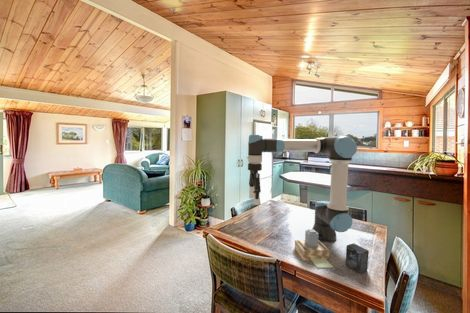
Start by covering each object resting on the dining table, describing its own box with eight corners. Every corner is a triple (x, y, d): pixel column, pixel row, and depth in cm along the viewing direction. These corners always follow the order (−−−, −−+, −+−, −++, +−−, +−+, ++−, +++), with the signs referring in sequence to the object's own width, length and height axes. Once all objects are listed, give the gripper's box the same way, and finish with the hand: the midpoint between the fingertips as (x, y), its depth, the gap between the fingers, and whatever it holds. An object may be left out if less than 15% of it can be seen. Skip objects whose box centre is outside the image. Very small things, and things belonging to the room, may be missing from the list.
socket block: (317, 247, 126) (318, 238, 126) (328, 259, 114) (329, 249, 114) (294, 248, 125) (294, 239, 124) (303, 260, 113) (303, 250, 113)
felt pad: (324, 258, 115) (324, 257, 115) (333, 267, 107) (333, 266, 107) (310, 259, 114) (310, 258, 114) (317, 268, 106) (317, 267, 106)
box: (345, 265, 109) (346, 245, 108) (352, 262, 111) (354, 242, 110) (359, 274, 102) (361, 252, 101) (367, 271, 104) (369, 250, 103)
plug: (313, 251, 122) (314, 228, 121) (317, 255, 117) (318, 232, 116) (304, 251, 122) (305, 229, 121) (308, 256, 117) (309, 232, 116)
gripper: (244, 160, 131) (243, 195, 133) (252, 165, 106) (251, 208, 108) (256, 160, 132) (256, 195, 134) (267, 165, 107) (266, 207, 109)
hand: (254, 201), depth 121 cm, fingers open, 13 cm apart
